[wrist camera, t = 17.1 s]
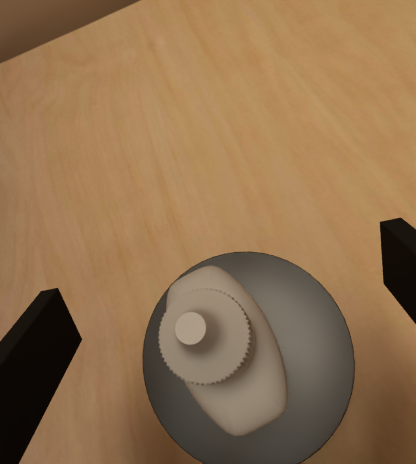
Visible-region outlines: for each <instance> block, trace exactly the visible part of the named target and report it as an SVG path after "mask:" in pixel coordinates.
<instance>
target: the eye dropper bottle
mask: <svg viewBox="0 0 416 464" xmlns="http://www.w3.org/2000/svg"><path fill="white" fill-rule="evenodd" d="M160 324H161V326H160V327H159V329H160V331H159V332H158V333H159V334H160V335H159V337H158V338H159V339H160V340H159V342H158V343H159V344H160V346H159V348H160V349H161V351H160V353H162V357H163V358H164V362H167V366H169V367H170V370H173V374H176V375H177V377H180V378H181V380H184V382H185V384H186V386H187V388H188V389H189V391H190V393H191V394H192V396H193V397H194V398H195V400H196V401H197V403H198V404H199V405H200V406H201V408H202V409H203V410H204V411H205V412H206V413H207V415H208V416H209V417H210V418H211V419H212V420H213V421H214V422H215V423H216V424H217V425H218V426H219V427H220V428H222V429H223V430H224V431H225V432H226V433H229V434H231V435H233V436H243V435H246V434H248V433H251V432H253V431H255V430H257V429H259V428H261V427H263V426H265V425H267V424H269V423H270V422H272V421H274V420H276V419H277V418H279V417H280V416H281V415H282V414H283V413H284V412H285V411H286V408H287V404H288V385H287V378H286V372H285V367H284V363H283V359H282V355H281V352H280V348H279V346H278V343H277V340H276V338H275V335H274V333H273V330H272V328H271V326H270V324H269V322H268V320H267V318H266V317H265V315H264V313H263V312H262V310H261V308H260V307H259V305H258V304H257V303H256V301H255V300H254V299H253V297H252V296H251V295H250V294H249V292H248V291H247V290H246V289H245V288H244V287H243V286H242V285H241V284H240V283H239V282H238V281H237V280H236V279H235V278H234V277H232V276H231V275H230V274H228V273H227V272H226V271H224V270H223V269H221V268H220V267H217V266H213V265H211V266H205V267H202V268H200V269H197V270H195V271H193V272H191V273H189V274H187V275H185V276H184V277H182V278H180V279H179V280H177V281H175V282H174V283H173V284H172V285H171V286H170V289H169V291H168V295H167V303H166V313H164V317H162V321H161V322H160Z"/></svg>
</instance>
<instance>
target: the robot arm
mask: <svg viewBox="0 0 416 464" xmlns="http://www.w3.org/2000/svg"><path fill="white" fill-rule="evenodd" d="M380 233H381V249H382V265H383V281H384V285H385V286H386V287H387V288H388V290H389V291H390V292H391V293H392V295H393V296H394V297H395V298H396V300H397V301H398V302H399V304H400V305H401V306H402V307H403V309H404V310H405V311H406V312H407V314H408V315H409V316H410V317H411V319H412V320H413V321H414V322H415V324H416V229H415V228H413V227H412V226H411V225H409V224H408V223H407V222H406V221H404V220H403V219H402V218H397V219H392V220H387V221H382V222H380ZM81 341H82V338H81V336H80V334H79V332H78V330H77V328H76V325H75V323H74V321H73V319H72V317H71V315H70V313H69V311H68V308H67V306H66V304H65V302H64V300H63V298H62V296H61V293H60V291H59V289H58V288H55V289H50V290H45V291H41V292H40V293H39V295H38V296H37V297H36V298H35V299H34V301H33V302H32V303H31V304H30V306H29V307H28V308H27V309H26V311H25V312H24V313H23V314H22V315H21V317H20V318H19V319H18V320H17V322H16V323H15V324H14V325H13V327H12V328H11V329H10V330H9V332H8V333H7V334H6V335H5V336H4V338H3V339H2V340H1V341H0V464H19V462H20V460H21V458H22V456H23V454H24V452H25V450H26V448H27V446H28V444H29V443H30V441H31V439H32V437H33V435H34V433H35V431H36V429H37V427H38V425H39V423H40V421H41V419H42V417H43V415H44V413H45V411H46V409H47V407H48V405H49V403H50V401H51V399H52V397H53V396H54V394H55V392H56V390H57V388H58V386H59V384H60V382H61V380H62V378H63V376H64V374H65V372H66V370H67V368H68V366H69V364H70V362H71V360H72V358H73V356H74V354H75V352H76V350H77V348H78V347H79V345H80V343H81Z"/></svg>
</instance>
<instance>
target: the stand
mask: <svg viewBox="0 0 416 464" xmlns="http://www.w3.org/2000/svg"><path fill="white" fill-rule="evenodd" d="M211 265H213V266H217V267H220V268H221V269H223V270H224V271H226V272H227V273H228V274H230V275H231V276H232V277H234V278H235V279H236V280H237V281H238V282H239V283H240V284H241V285H242V286H243V287H244V288H245V289H246V290H247V291H248V292H249V294H250V295H251V296H252V297H253V299H254V300H255V301H256V303H257V304H258V305H259V307H260V308H261V310H262V312H263V313H264V315H265V317H266V318H267V320H268V322H269V324H270V326H271V328H272V330H273V333H274V335H275V338H276V340H277V343H278V346H279V348H280V352H281V355H282V359H283V363H284V367H285V372H286V378H287V385H288V404H287V408H286V411H285V412H284V413H283V414H282V415H281V416H280V417H279V418H277V419H276V420H274V421H272V422H270V423H269V424H267V425H265V426H263V427H261V428H259V429H257V430H255V431H253V432H251V433H248V434H246V435H243V436H233V435H231V434H229V433H226V432H225V431H224V430H223V429H222V428H220V427H219V426H218V425H217V424H216V423H215V422H214V421H213V420H212V419H211V418H210V417H209V416H208V415H207V413H206V412H205V411H204V410H203V409H202V408H201V406H200V405H199V404H198V403H197V401H196V400H195V398H194V397H193V396H192V394H191V393H190V391H189V389H188V388H187V386H186V384H185V382H184V380H181V378H180V377H177V375H176V374H173V370H170V367H169V366H167V362H164V358H163V357H162V353H160V351H161V349H160V348H159V346H160V344H159V343H158V342H159V340H160V339H159V338H158V337H159V335H160V334H159V333H158V332H159V331H160V329H159V327H160V326H161V324H160V322H161V321H162V317H164V313H166V303H167V295H168V291H169V289H170V287H169V288H168V289H167V290H166V292H165V293H164V294H163V296H162V297H161V299H160V300H159V302H158V304H157V305H156V307H155V309H154V311H153V314H152V316H151V318H150V321H149V324H148V327H147V330H146V335H145V340H144V347H143V374H144V381H145V386H146V390H147V393H148V397H149V400H150V402H151V405H152V407H153V410H154V412H155V414H156V416H157V418H158V419H159V421H160V423H161V425H162V426H163V427H164V429H165V430H166V431H167V433H168V434H169V436H170V437H171V438H172V439H173V440H174V441H175V442H176V443H177V444H178V445H179V446H180V447H181V448H182V449H183V450H184V451H186V452H187V453H188V454H190V455H191V456H192V457H193V458H195V459H197V460H199V461H200V462H202V463H204V464H299V463H301V462H303V461H304V460H306V459H308V458H309V457H311V456H312V455H313V454H314V453H315V452H317V451H318V450H319V449H320V448H321V447H322V446H323V445H324V444H325V443H326V442H327V441H328V440H329V439H330V437H331V436H332V435H333V433H334V432H335V430H336V429H337V427H338V426H339V424H340V423H341V421H342V418H343V416H344V414H345V412H346V410H347V407H348V404H349V401H350V398H351V395H352V389H353V383H354V370H355V361H354V351H353V345H352V340H351V336H350V332H349V329H348V327H347V324H346V321H345V319H344V317H343V315H342V313H341V311H340V309H339V307H338V305H337V304H336V302H335V301H334V300H333V298H332V297H331V295H330V294H329V293H328V291H327V290H326V289H325V288H324V287H323V286H322V285H321V284H320V283H319V282H318V281H317V280H316V279H315V278H314V277H312V276H311V275H310V274H309V273H307V272H306V271H304V270H303V269H302V268H300V267H299V266H297V265H295V264H293V263H291V262H289V261H287V260H284V259H282V258H279V257H276V256H273V255H268V254H264V253H257V252H233V253H227V254H222V255H219V256H215V257H212V258H209V259H207V260H205V261H202V262H200V263H199V264H197V265H195V266H193V267H192V268H190V269H189V270H187V271H186V272H185V273H183V274H182V275H181V276H180V277H179V278H178V279H176V280H175V281H177V280H179V279H180V278H182V277H184V276H185V275H187V274H189V273H191V272H193V271H195V270H197V269H200V268H202V267H205V266H211ZM175 281H174V282H175ZM174 282H173V283H174ZM173 283H172V284H173ZM172 284H171V285H172Z"/></svg>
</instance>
